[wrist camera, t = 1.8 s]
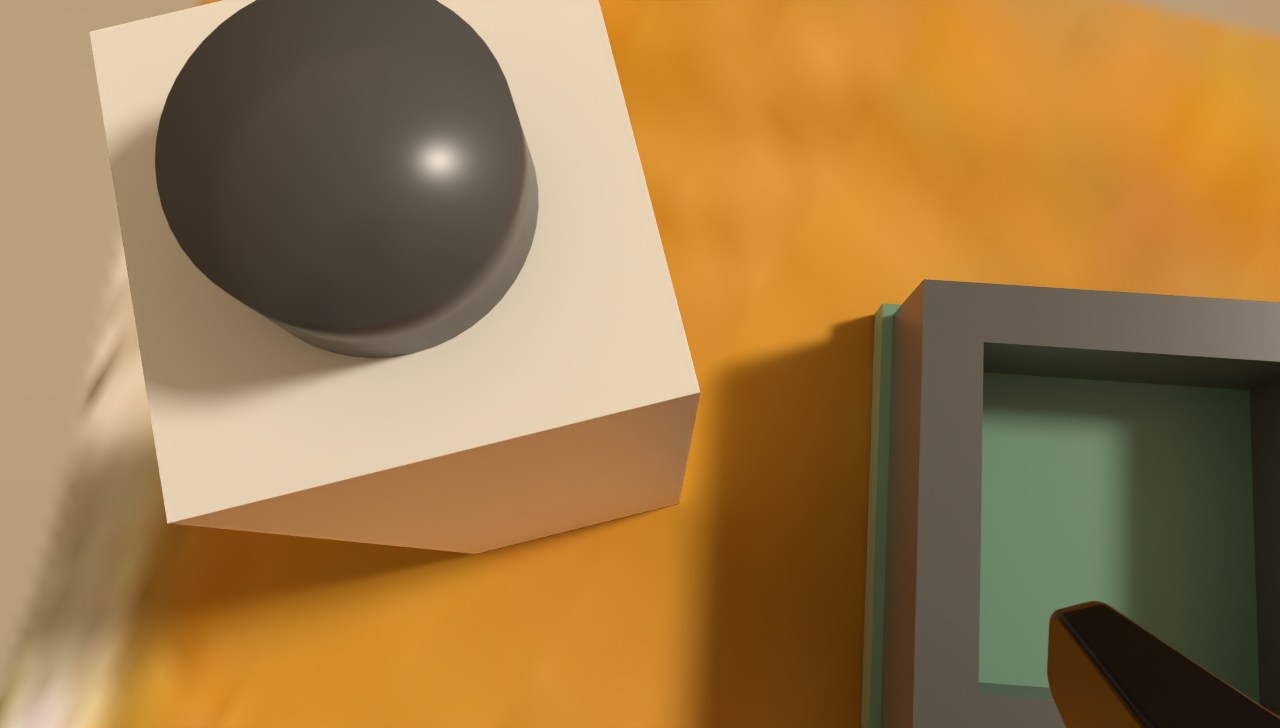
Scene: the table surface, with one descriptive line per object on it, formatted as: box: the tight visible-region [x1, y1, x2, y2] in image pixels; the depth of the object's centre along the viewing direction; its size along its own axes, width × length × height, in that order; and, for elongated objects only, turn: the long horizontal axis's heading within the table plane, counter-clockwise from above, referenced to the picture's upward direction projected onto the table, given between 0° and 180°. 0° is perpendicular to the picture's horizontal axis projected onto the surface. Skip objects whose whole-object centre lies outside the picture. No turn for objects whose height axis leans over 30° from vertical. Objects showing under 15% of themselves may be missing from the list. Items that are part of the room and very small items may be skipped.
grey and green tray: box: [861, 279, 1280, 728], centre depth 19 cm, size 8×8×3 cm
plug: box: [90, 0, 700, 554], centre depth 14 cm, size 4×4×14 cm
